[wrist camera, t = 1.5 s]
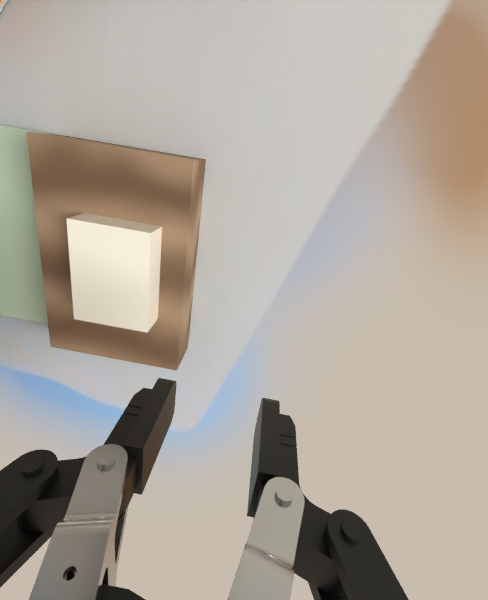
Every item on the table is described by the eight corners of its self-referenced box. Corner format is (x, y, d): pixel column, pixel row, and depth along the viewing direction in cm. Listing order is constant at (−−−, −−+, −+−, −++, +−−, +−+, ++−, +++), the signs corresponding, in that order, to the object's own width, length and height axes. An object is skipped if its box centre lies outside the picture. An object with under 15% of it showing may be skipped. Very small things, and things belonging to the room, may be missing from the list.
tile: (85, 213, 25) (66, 218, 22) (162, 226, 24) (150, 233, 22) (90, 306, 28) (73, 319, 26) (157, 318, 28) (147, 332, 25)
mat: (-68, 113, 27) (-74, 112, 26) (61, 135, 26) (57, 134, 26) (-26, 307, 34) (-30, 309, 33) (75, 326, 34) (72, 328, 33)
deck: (61, 135, 26) (26, 131, 23) (205, 159, 26) (193, 159, 22) (75, 326, 34) (50, 346, 30) (187, 347, 33) (176, 370, 30)
